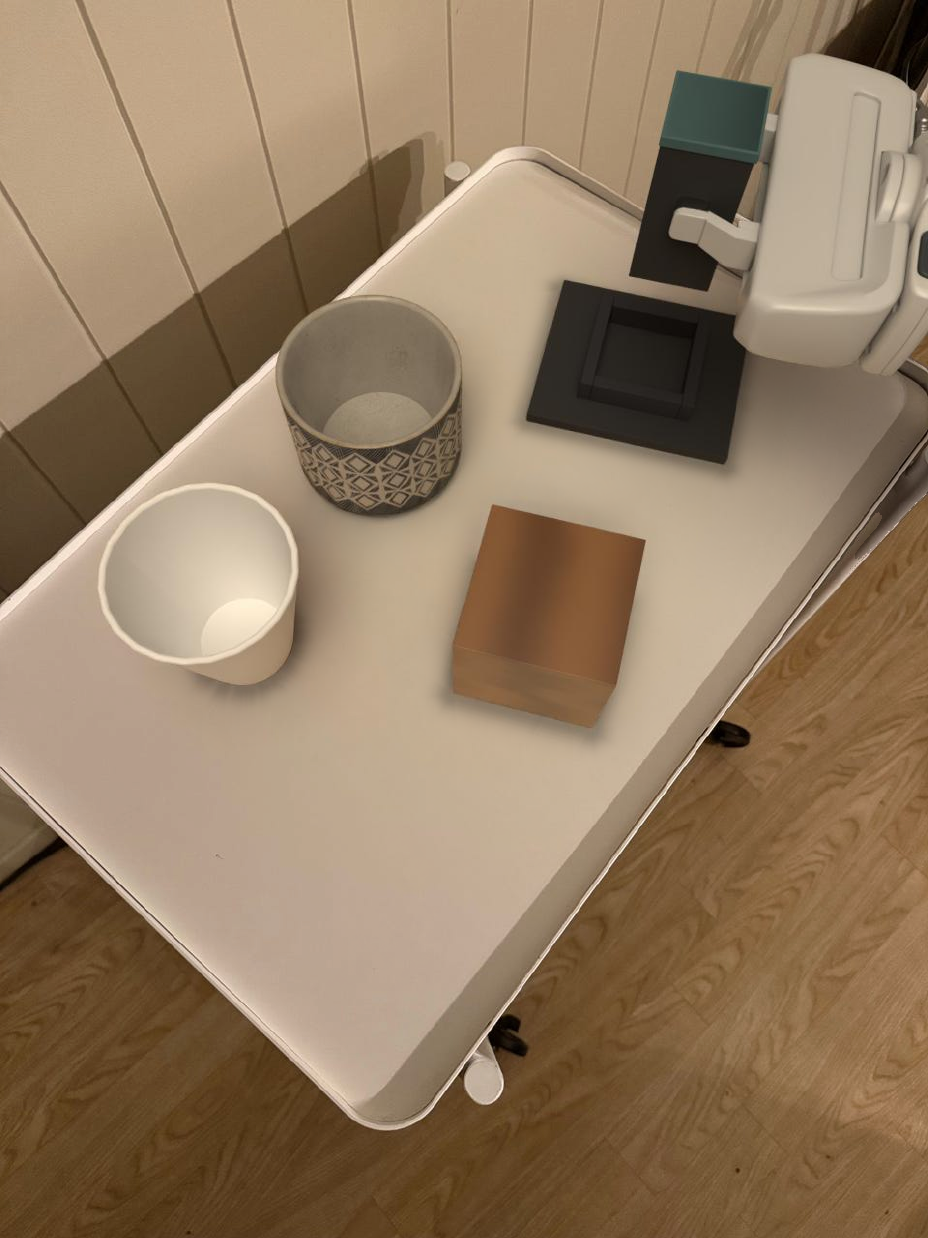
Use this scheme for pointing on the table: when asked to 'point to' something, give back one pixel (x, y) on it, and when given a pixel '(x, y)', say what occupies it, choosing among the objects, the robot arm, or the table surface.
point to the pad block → (699, 171)
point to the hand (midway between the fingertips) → (681, 176)
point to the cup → (204, 582)
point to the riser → (546, 616)
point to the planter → (373, 402)
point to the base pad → (640, 372)
